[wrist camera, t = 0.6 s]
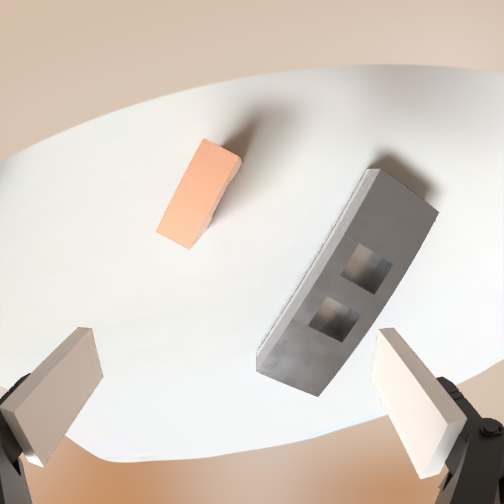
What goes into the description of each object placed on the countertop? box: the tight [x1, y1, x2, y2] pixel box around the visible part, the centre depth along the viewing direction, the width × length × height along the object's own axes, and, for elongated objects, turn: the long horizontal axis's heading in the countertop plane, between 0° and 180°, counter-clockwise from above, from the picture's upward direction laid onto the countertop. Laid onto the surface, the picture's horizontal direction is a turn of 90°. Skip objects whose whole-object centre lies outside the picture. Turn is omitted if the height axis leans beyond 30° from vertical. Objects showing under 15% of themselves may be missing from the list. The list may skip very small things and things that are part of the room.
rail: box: [256, 168, 439, 397], centre depth 33 cm, size 8×24×4 cm, turn 151°
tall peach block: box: [156, 138, 242, 250], centre depth 28 cm, size 3×8×9 cm, turn 151°
